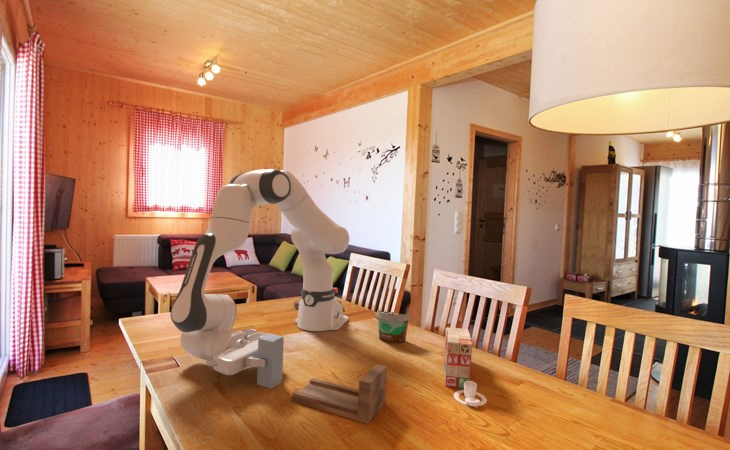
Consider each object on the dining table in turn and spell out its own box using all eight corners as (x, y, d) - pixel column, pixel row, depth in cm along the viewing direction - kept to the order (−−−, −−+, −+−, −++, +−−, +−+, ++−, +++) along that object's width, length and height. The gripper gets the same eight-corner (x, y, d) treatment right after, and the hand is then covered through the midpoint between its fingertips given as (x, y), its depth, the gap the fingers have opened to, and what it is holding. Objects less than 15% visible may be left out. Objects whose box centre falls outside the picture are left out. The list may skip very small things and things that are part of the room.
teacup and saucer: (480, 413, 93) (481, 396, 93) (447, 402, 97) (448, 386, 97) (490, 398, 100) (491, 382, 100) (459, 388, 105) (460, 373, 104)
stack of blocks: (443, 356, 126) (446, 317, 125) (464, 358, 125) (466, 319, 124) (445, 386, 105) (447, 341, 104) (469, 389, 104) (472, 343, 103)
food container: (369, 340, 136) (371, 312, 136) (376, 335, 142) (377, 308, 141) (404, 347, 132) (405, 317, 131) (409, 341, 138) (410, 313, 137)
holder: (313, 384, 103) (314, 350, 102) (384, 403, 95) (386, 366, 94) (290, 401, 94) (292, 364, 93) (368, 423, 86) (369, 383, 85)
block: (268, 377, 106) (269, 333, 105) (282, 381, 104) (283, 336, 103) (257, 384, 101) (258, 338, 101) (271, 388, 100) (272, 341, 99)
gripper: (201, 349, 98) (245, 361, 92) (256, 327, 116) (296, 335, 111) (201, 374, 98) (245, 387, 93) (256, 348, 117) (295, 357, 111)
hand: (273, 359), depth 102 cm, fingers closed on block, 4 cm apart
